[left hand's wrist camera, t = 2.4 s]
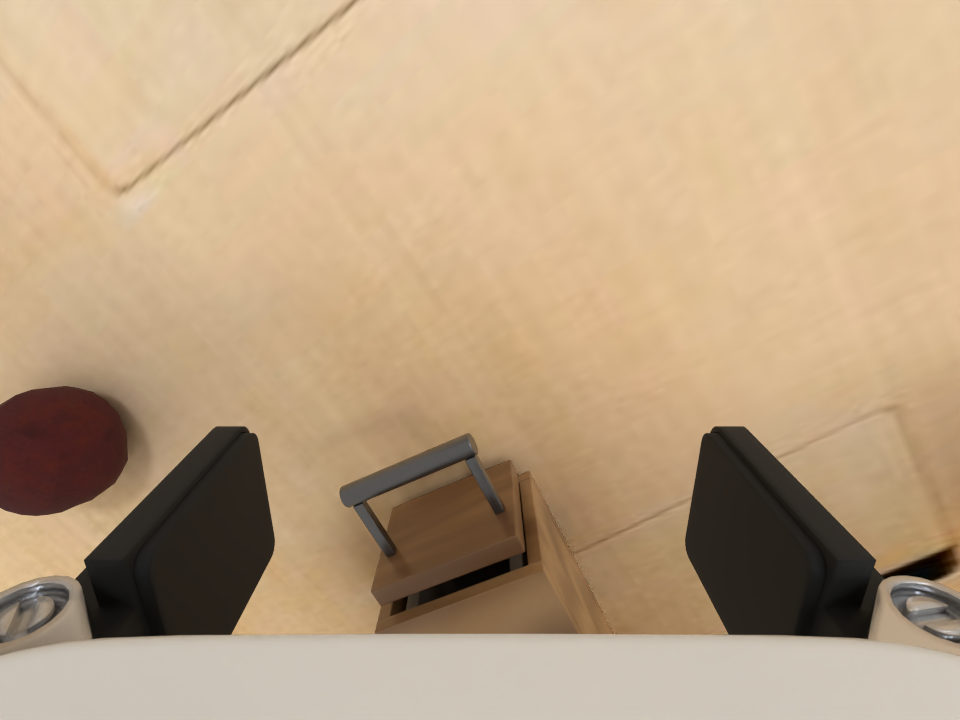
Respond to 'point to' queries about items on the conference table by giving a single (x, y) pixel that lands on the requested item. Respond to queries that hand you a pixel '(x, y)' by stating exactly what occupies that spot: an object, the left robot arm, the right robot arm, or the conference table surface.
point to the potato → (58, 449)
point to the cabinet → (513, 590)
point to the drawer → (443, 525)
